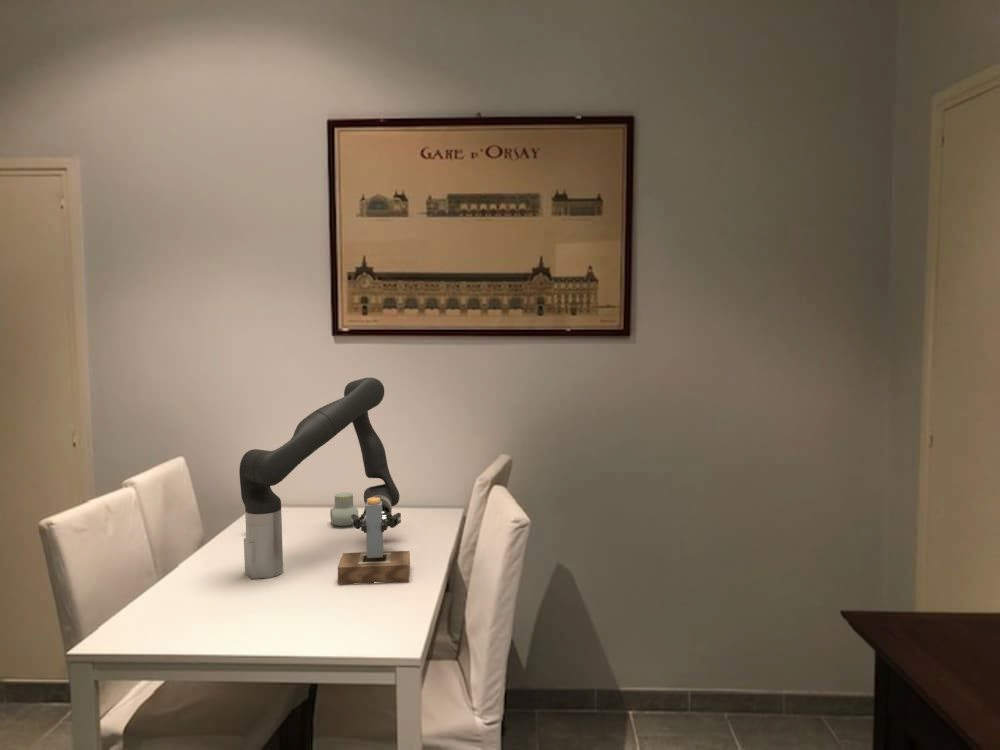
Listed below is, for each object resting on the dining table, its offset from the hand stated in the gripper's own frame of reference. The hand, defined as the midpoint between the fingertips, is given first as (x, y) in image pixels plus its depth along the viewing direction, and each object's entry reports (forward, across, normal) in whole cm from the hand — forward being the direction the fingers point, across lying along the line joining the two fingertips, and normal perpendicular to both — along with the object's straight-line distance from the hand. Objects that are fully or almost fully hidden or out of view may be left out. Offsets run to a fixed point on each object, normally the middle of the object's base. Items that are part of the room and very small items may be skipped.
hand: (373, 528), depth 208 cm
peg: (-3, 0, +8) cm, 8 cm away
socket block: (-2, 0, +13) cm, 14 cm away
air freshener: (-54, -14, +14) cm, 57 cm away
